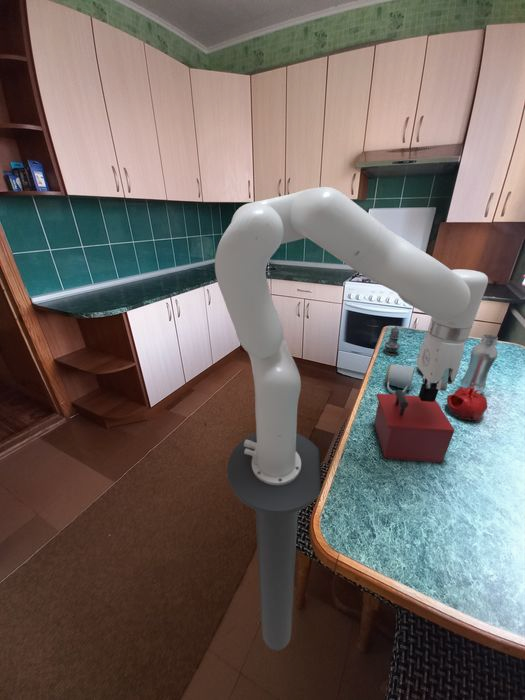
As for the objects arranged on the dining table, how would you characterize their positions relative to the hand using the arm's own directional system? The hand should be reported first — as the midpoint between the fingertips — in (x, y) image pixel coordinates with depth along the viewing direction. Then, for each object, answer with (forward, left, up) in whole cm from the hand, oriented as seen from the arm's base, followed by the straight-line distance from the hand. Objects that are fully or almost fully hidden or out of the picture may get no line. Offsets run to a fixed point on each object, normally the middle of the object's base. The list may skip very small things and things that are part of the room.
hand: (426, 399), depth 70 cm
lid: (-2, 0, -4) cm, 5 cm away
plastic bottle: (+18, +32, -14) cm, 39 cm away
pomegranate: (+14, +19, -15) cm, 27 cm away
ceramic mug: (-4, +26, -15) cm, 30 cm away
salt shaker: (-7, +52, -15) cm, 54 cm away
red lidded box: (-2, 0, -14) cm, 14 cm away
